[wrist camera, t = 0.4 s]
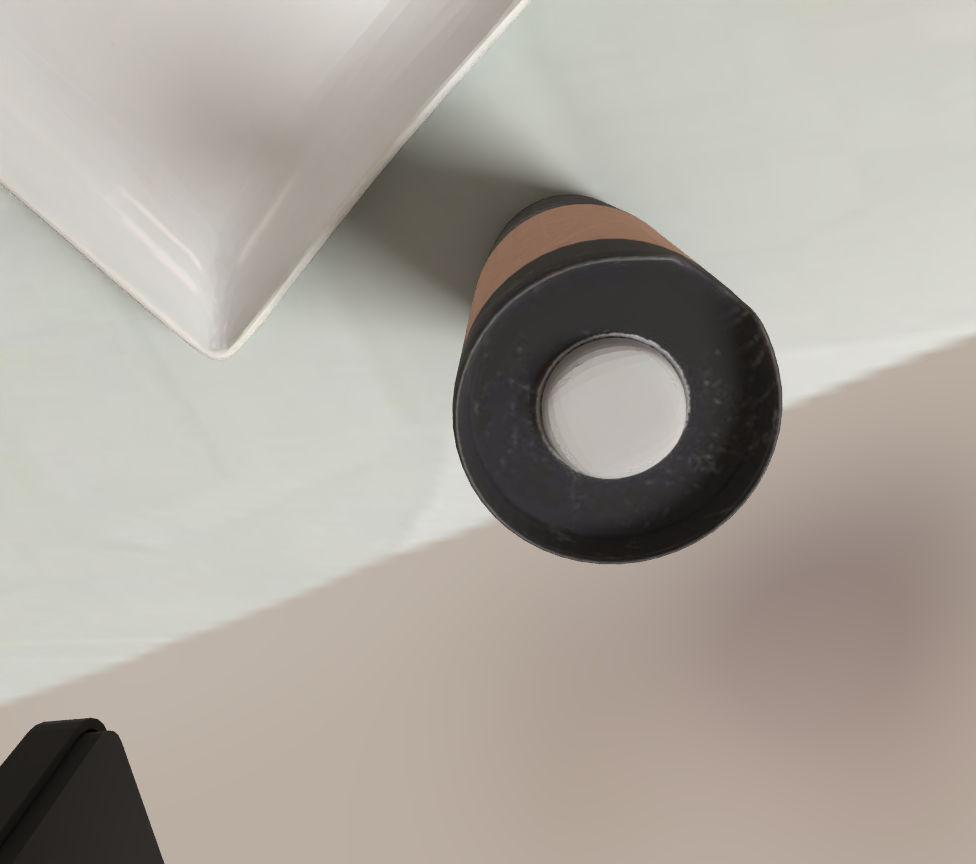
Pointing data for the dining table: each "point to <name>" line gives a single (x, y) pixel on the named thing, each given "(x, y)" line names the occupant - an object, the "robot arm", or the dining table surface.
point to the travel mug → (610, 388)
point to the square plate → (218, 133)
